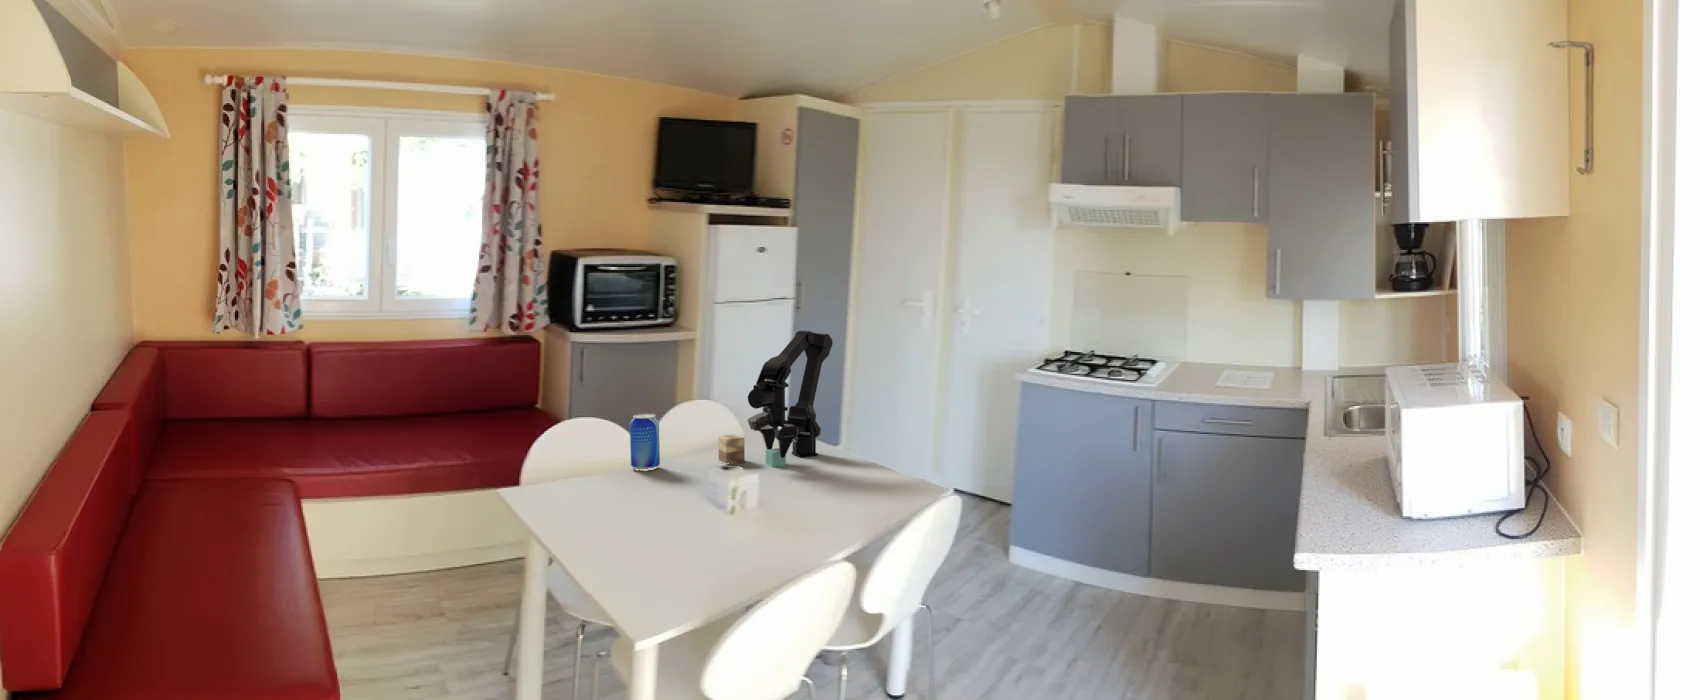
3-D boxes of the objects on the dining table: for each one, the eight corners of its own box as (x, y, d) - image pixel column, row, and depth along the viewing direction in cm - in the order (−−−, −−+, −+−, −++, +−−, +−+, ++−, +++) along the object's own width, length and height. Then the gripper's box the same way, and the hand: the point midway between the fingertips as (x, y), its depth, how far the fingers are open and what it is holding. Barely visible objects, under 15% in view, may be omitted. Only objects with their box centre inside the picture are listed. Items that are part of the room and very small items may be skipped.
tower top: (736, 446, 317) (736, 434, 316) (744, 450, 311) (744, 437, 311) (718, 448, 314) (718, 436, 313) (726, 452, 309) (725, 439, 308)
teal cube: (779, 462, 312) (779, 448, 312) (785, 465, 309) (785, 451, 308) (765, 464, 310) (765, 449, 310) (772, 467, 306) (772, 452, 306)
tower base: (736, 459, 317) (736, 446, 317) (744, 463, 312) (744, 450, 312) (718, 461, 314) (718, 448, 314) (726, 465, 309) (726, 452, 309)
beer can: (663, 466, 307) (662, 413, 305) (655, 472, 299) (654, 418, 297) (636, 465, 308) (634, 412, 306) (627, 471, 300) (625, 417, 298)
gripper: (738, 401, 311) (738, 451, 313) (764, 410, 295) (764, 463, 297) (771, 398, 317) (771, 447, 319) (798, 407, 301) (799, 459, 303)
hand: (775, 454), depth 309 cm, fingers open, 9 cm apart
